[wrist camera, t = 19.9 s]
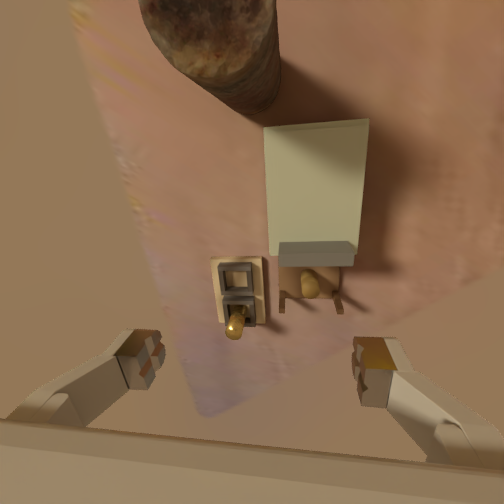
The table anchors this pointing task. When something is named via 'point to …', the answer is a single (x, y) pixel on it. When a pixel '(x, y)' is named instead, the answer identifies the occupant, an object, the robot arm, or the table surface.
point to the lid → (315, 191)
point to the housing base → (296, 289)
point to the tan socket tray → (239, 287)
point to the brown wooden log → (221, 46)
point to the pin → (236, 322)
